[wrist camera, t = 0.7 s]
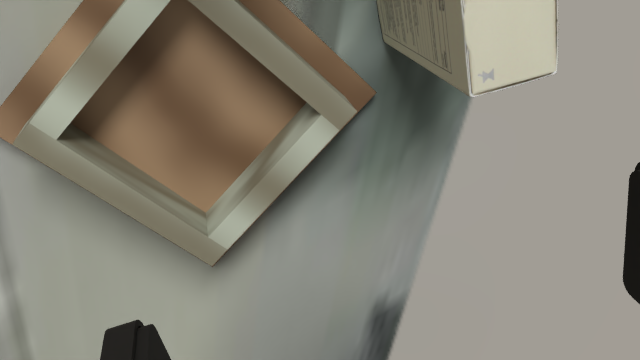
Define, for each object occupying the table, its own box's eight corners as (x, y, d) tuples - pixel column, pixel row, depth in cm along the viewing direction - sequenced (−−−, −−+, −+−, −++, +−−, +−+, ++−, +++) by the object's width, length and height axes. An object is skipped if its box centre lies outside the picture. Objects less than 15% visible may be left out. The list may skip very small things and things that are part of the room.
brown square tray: (166, -106, 29) (165, -106, 26) (371, 87, 37) (392, 108, 33) (-11, 121, 32) (-34, 148, 29) (211, 258, 40) (215, 293, 36)
